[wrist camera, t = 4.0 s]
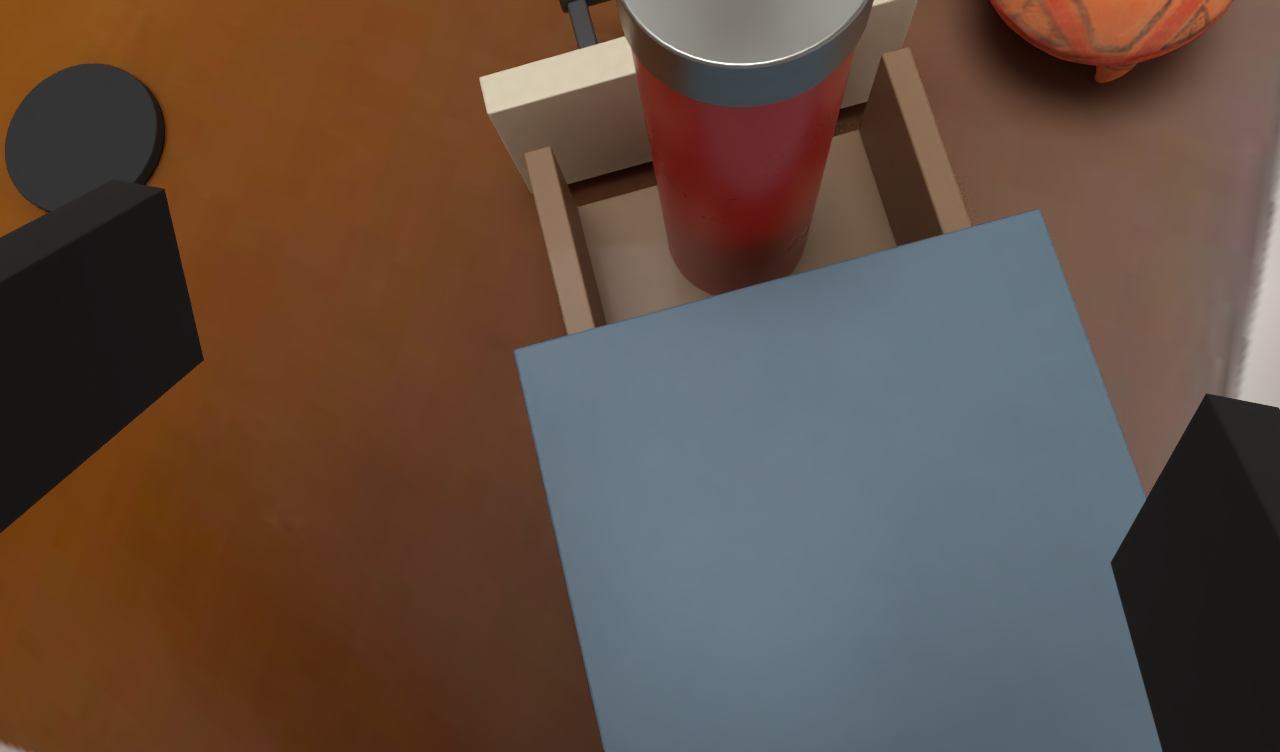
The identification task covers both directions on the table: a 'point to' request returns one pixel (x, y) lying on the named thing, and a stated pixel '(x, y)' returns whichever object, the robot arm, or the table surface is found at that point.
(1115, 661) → the cabinet
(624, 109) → the drawer
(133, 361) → the robot arm
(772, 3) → the disc
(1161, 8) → the pot
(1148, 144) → the table surface
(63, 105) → the coaster
